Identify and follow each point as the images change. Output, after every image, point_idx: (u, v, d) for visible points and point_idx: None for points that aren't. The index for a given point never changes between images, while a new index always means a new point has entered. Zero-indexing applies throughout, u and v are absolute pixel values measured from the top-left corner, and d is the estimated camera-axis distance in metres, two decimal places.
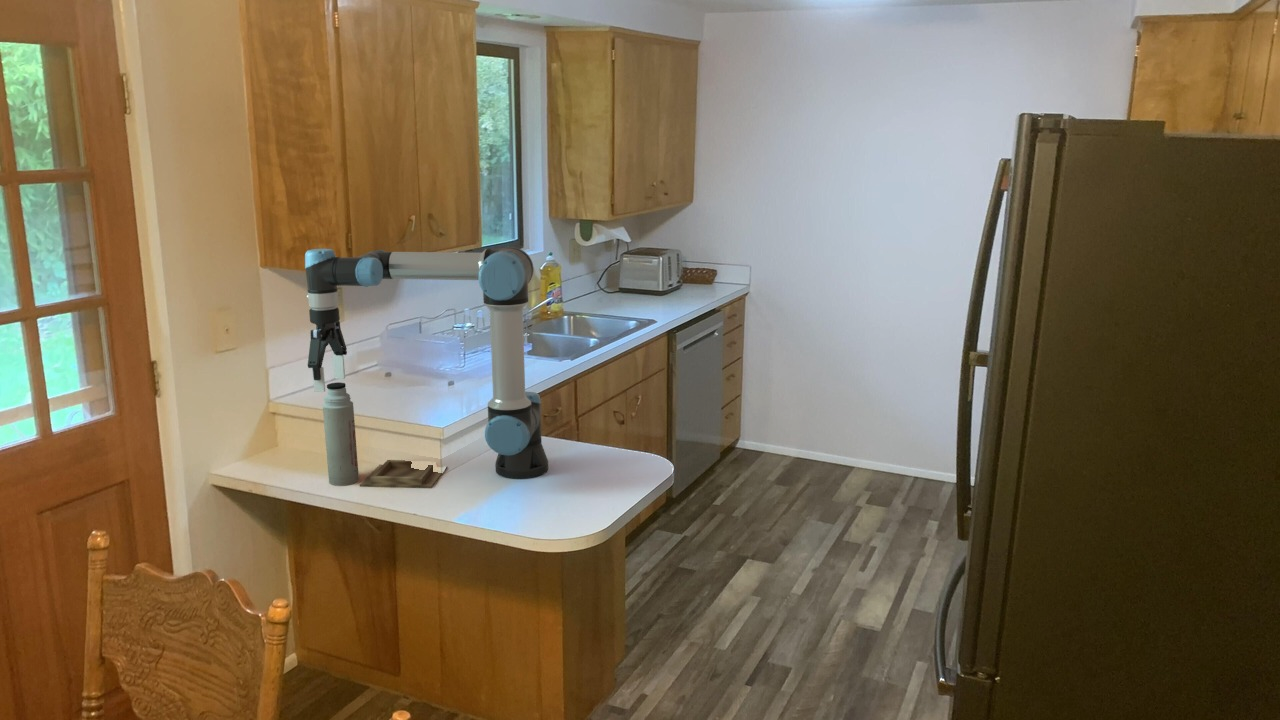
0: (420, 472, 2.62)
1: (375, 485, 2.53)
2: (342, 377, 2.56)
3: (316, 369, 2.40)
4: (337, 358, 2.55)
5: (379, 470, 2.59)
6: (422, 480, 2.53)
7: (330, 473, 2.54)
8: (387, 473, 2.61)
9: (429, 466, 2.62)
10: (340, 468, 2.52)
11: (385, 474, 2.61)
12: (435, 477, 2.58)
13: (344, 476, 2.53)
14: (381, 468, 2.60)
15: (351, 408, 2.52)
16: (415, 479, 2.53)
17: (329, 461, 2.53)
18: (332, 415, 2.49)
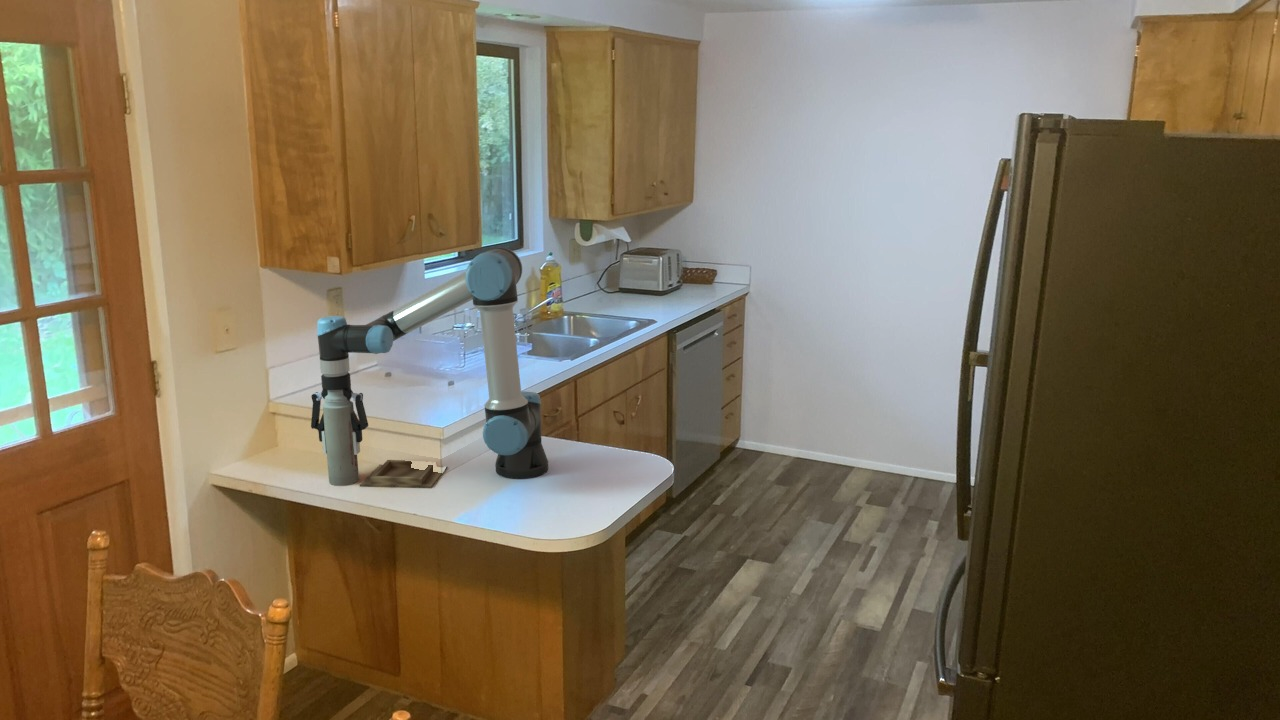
0: (420, 472, 2.62)
1: (375, 485, 2.53)
2: None
3: None
4: None
5: (379, 470, 2.59)
6: (422, 480, 2.53)
7: (330, 473, 2.54)
8: (387, 473, 2.61)
9: (429, 466, 2.62)
10: (340, 468, 2.53)
11: (385, 474, 2.61)
12: (435, 477, 2.58)
13: (345, 476, 2.53)
14: (381, 468, 2.60)
15: (351, 408, 2.52)
16: (415, 479, 2.53)
17: (329, 461, 2.53)
18: (332, 415, 2.49)
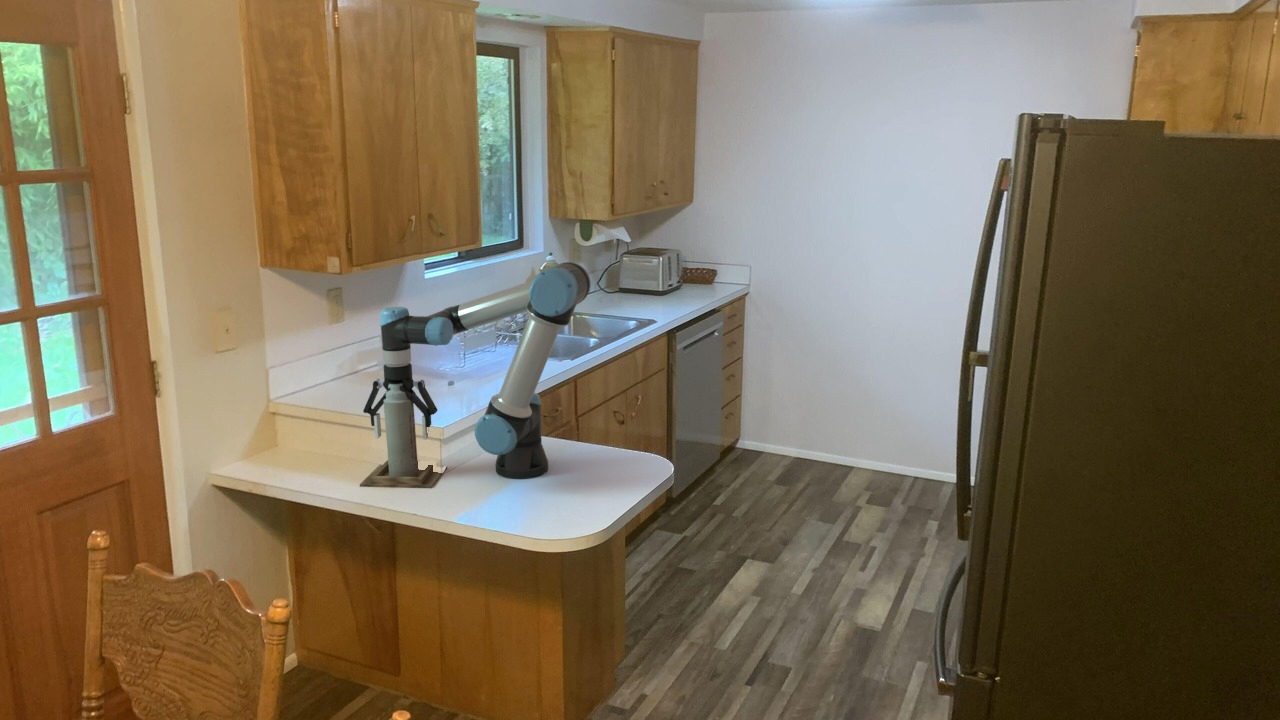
0: (420, 472, 2.62)
1: (375, 485, 2.53)
2: None
3: None
4: None
5: (379, 470, 2.59)
6: (422, 480, 2.53)
7: (391, 467, 2.57)
8: (387, 473, 2.61)
9: (429, 466, 2.62)
10: (401, 462, 2.55)
11: (385, 474, 2.61)
12: (435, 477, 2.58)
13: (405, 470, 2.56)
14: (381, 468, 2.60)
15: (411, 402, 2.55)
16: (415, 479, 2.53)
17: (390, 456, 2.56)
18: (393, 409, 2.52)
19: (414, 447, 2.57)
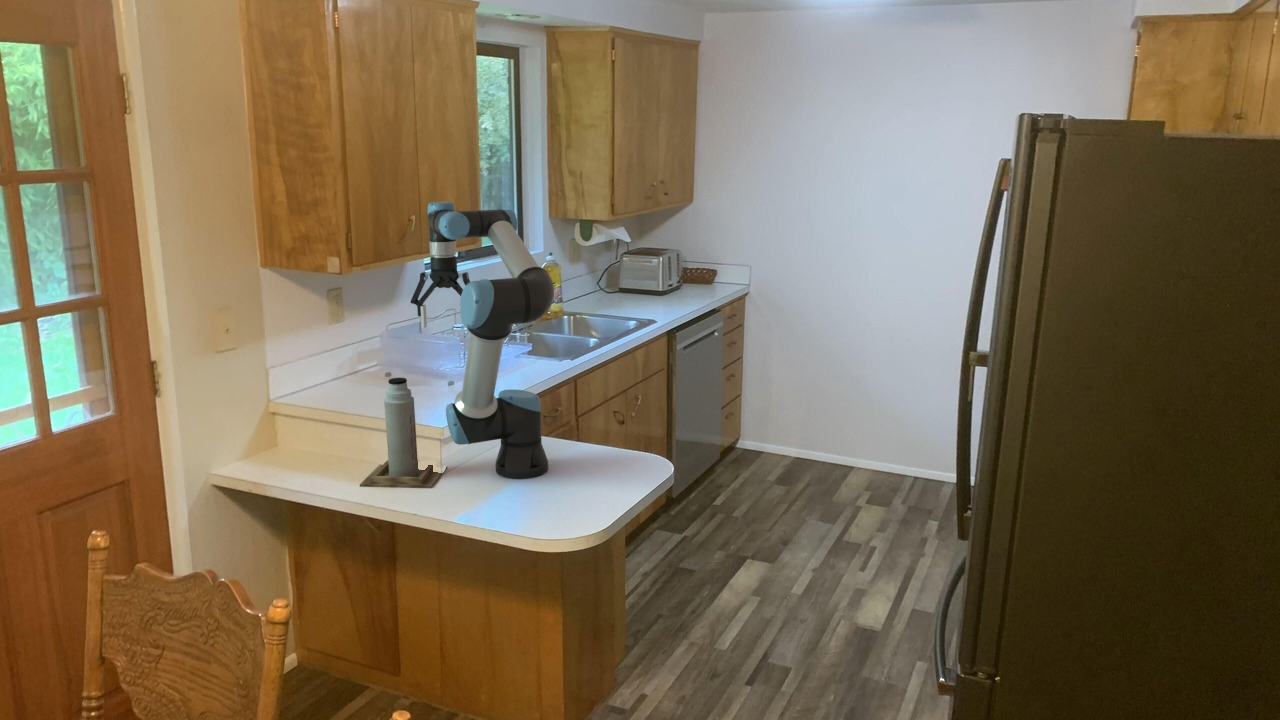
0: (420, 472, 2.62)
1: (375, 485, 2.53)
2: None
3: None
4: None
5: (379, 470, 2.59)
6: (422, 480, 2.53)
7: (391, 467, 2.57)
8: (387, 473, 2.61)
9: (429, 466, 2.62)
10: (401, 462, 2.55)
11: (385, 474, 2.61)
12: (435, 477, 2.58)
13: (405, 471, 2.56)
14: (381, 468, 2.60)
15: (412, 403, 2.55)
16: (415, 479, 2.53)
17: (390, 456, 2.56)
18: (394, 410, 2.52)
19: (414, 447, 2.57)
